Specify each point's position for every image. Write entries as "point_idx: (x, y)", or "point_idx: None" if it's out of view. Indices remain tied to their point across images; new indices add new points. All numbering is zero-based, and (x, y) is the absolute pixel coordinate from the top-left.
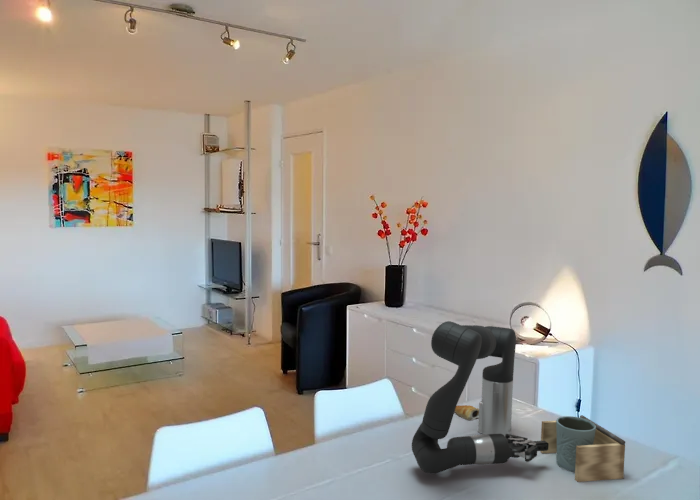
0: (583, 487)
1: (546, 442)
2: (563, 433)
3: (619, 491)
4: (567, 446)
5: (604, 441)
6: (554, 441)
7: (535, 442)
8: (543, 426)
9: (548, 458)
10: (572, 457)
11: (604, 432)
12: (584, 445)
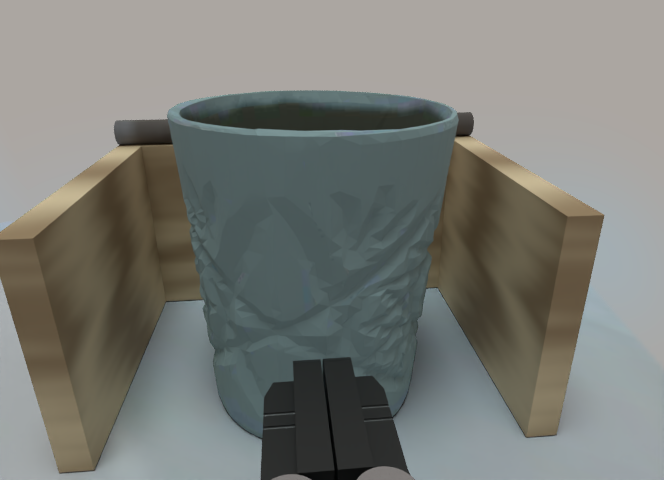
0: (627, 432)
1: (347, 362)
2: (378, 197)
3: (592, 319)
4: (397, 280)
5: None
6: (108, 334)
7: (341, 462)
8: (36, 273)
9: (184, 463)
10: (409, 329)
11: None
12: (537, 194)
